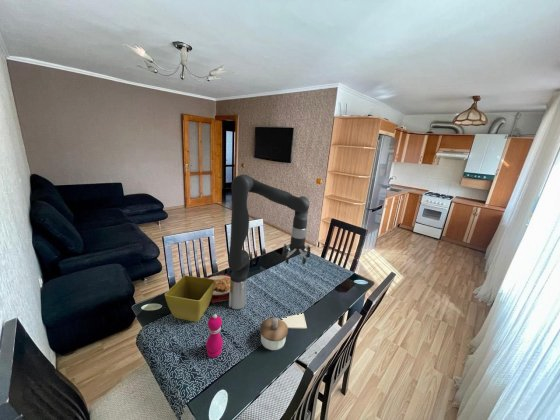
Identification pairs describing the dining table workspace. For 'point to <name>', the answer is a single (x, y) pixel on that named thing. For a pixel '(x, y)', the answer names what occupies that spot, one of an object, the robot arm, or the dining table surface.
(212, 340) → the pepper mill
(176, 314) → the flower pot
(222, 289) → the plate with food
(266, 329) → the lid
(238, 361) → the dining table surface
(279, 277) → the dining table surface
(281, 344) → the bowl
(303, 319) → the mat
